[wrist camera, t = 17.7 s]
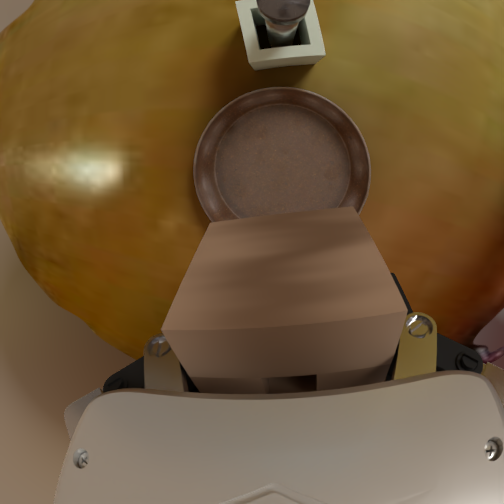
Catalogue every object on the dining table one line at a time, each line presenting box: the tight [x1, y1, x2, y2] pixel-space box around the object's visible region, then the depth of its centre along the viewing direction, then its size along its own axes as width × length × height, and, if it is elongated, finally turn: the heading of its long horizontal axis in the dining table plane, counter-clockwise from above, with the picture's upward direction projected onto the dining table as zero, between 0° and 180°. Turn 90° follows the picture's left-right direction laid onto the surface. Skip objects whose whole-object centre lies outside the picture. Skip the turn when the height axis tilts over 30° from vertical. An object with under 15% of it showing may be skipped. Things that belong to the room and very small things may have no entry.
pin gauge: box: [256, 0, 310, 48], centre depth 15 cm, size 3×3×12 cm
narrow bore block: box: [161, 206, 408, 394], centre depth 10 cm, size 6×6×6 cm
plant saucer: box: [193, 87, 371, 222], centre depth 26 cm, size 18×18×3 cm
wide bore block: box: [236, 0, 326, 71], centre depth 17 cm, size 6×6×6 cm
